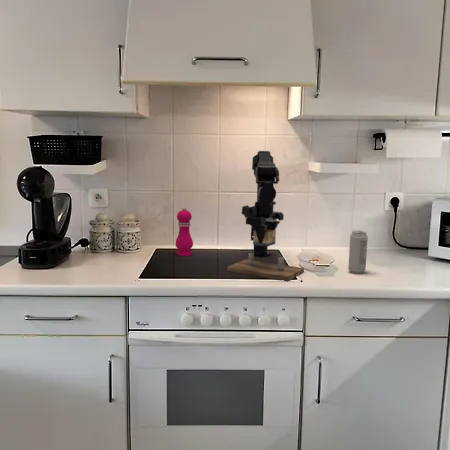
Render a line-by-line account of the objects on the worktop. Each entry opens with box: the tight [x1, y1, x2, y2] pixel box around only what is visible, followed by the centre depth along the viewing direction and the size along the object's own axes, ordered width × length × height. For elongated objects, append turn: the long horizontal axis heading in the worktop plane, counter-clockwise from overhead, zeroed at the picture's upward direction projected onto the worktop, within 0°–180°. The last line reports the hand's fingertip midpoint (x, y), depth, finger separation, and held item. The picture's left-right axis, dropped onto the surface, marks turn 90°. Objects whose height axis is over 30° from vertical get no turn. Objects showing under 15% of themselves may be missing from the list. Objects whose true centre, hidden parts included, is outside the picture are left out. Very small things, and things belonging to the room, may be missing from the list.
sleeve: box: [252, 229, 277, 247], centre depth 179 cm, size 6×6×5 cm
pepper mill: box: [175, 206, 194, 257], centre depth 201 cm, size 7×7×20 cm
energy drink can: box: [348, 230, 368, 275], centre depth 177 cm, size 6×6×15 cm
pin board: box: [226, 252, 305, 282], centre depth 177 cm, size 14×24×6 cm, turn 58°
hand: (264, 241), depth 179 cm, fingers closed on sleeve, 6 cm apart
